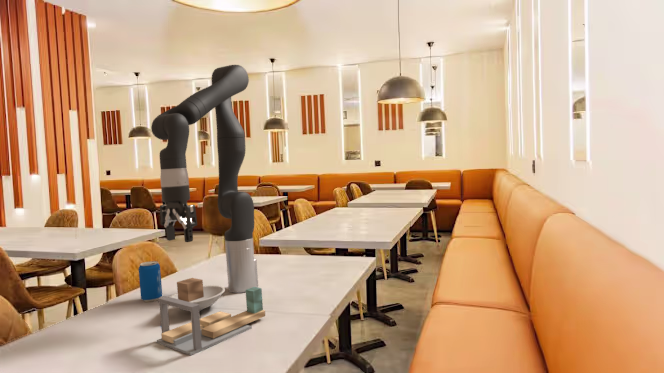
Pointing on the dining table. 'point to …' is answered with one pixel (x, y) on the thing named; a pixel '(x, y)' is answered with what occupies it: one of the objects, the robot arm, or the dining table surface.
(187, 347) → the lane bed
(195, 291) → the walnut block
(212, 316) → the light wood block
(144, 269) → the beverage can
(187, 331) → the far strip
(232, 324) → the strip
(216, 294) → the dish
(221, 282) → the dining table surface
